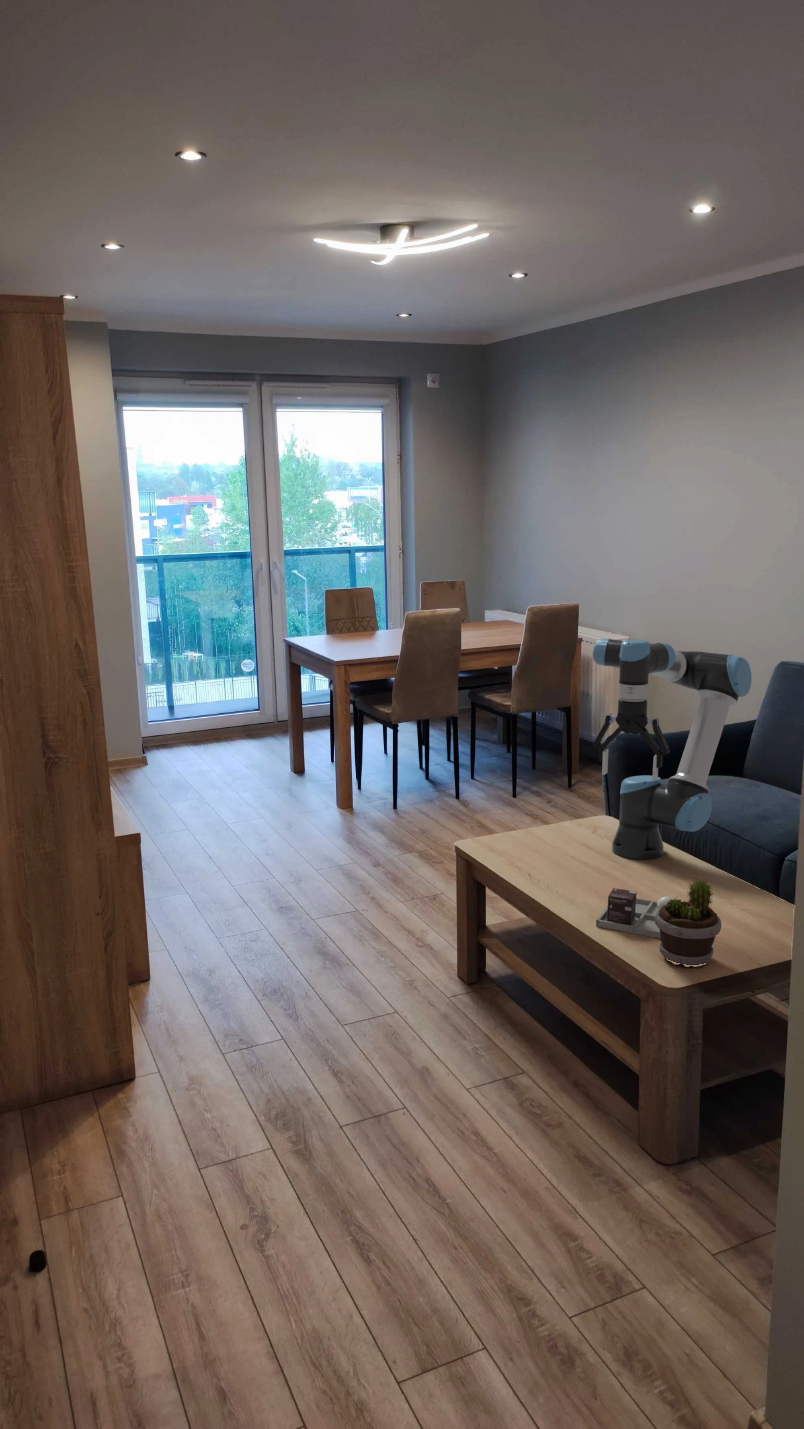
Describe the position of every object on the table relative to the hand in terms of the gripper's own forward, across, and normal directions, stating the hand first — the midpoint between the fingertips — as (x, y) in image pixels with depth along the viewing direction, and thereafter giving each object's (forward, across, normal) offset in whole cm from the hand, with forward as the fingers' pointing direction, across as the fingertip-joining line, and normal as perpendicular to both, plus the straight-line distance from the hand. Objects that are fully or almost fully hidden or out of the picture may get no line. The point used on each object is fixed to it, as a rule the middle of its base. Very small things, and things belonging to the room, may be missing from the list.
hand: (629, 776), depth 271 cm
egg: (+31, +15, -16) cm, 38 cm away
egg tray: (+31, +10, -20) cm, 39 cm away
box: (+31, +6, -25) cm, 40 cm away
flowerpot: (+31, +24, -38) cm, 55 cm away
